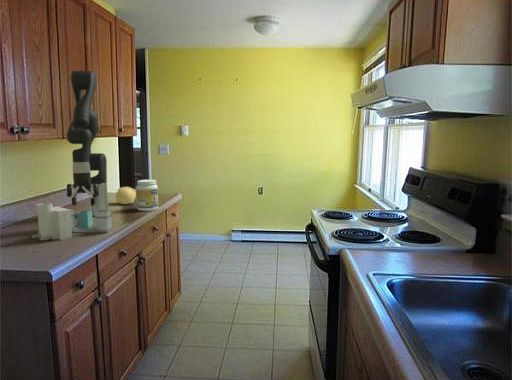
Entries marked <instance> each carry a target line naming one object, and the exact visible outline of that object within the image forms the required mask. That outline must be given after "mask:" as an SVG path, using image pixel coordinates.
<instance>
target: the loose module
mask: <svg viewBox="0 0 512 380" xmlns="http://www.w3.org/2000/svg"><path fill="white" fill-rule="evenodd" d="M76 219H77V227H89V226H90V227H92V226H93V225H94V223H93V221H94V220H93V216H92V211H90V209H89V210H88V209H81V210H80V211H78V212H76Z"/></svg>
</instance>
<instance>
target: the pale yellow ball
mask: <svg viewBox="0 0 512 380" xmlns="http://www.w3.org/2000/svg"><path fill="white" fill-rule="evenodd" d="M115 200H116V202H117V204H120V205H128V204H133V203H134V202H135V200H136V188H132V187H130V186H123V187H122V186H121V187H120V188H118V189H117V191H116V193H115Z"/></svg>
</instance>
